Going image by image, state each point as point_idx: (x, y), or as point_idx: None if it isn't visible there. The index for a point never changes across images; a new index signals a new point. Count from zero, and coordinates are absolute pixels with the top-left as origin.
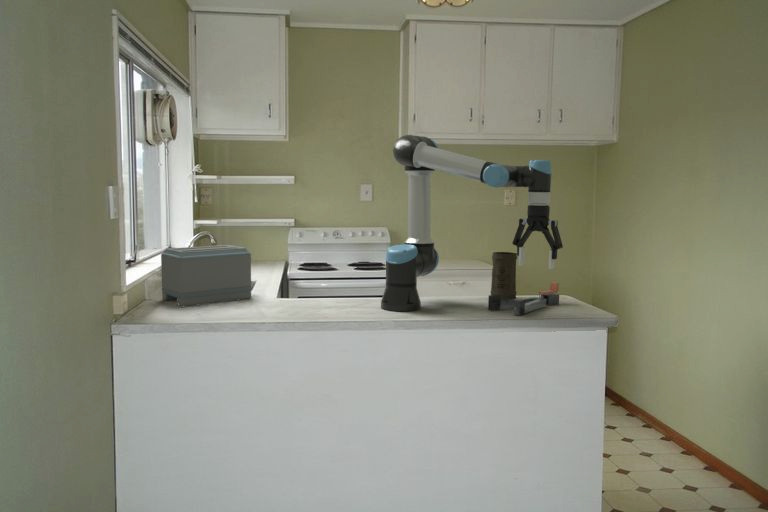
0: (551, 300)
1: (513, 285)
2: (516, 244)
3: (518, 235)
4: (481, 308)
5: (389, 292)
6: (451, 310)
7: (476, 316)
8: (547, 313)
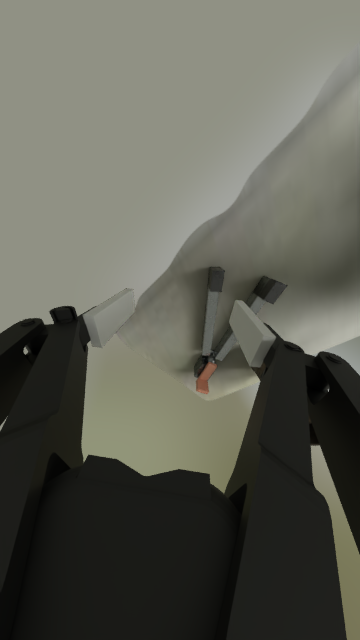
0: (199, 362)
1: (259, 368)
2: (306, 357)
3: (356, 416)
4: (286, 284)
5: None
6: (348, 223)
7: (282, 202)
8: (183, 313)
